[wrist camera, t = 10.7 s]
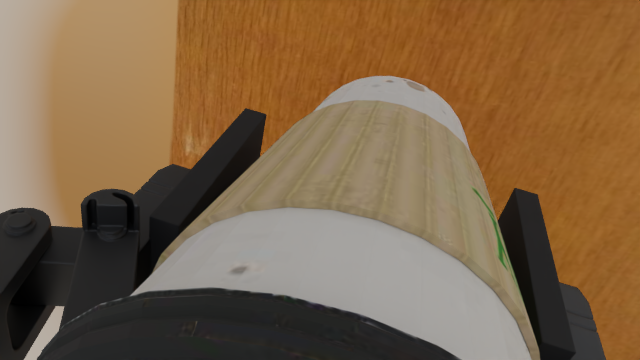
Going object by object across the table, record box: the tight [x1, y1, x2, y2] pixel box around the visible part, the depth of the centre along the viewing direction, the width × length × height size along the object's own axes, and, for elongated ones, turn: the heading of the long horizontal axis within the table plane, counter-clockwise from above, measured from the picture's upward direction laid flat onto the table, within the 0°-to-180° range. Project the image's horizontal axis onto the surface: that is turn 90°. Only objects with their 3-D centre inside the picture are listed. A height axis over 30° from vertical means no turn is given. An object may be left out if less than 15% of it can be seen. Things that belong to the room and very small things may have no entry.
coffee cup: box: [37, 76, 540, 360], centre depth 13 cm, size 10×10×15 cm
